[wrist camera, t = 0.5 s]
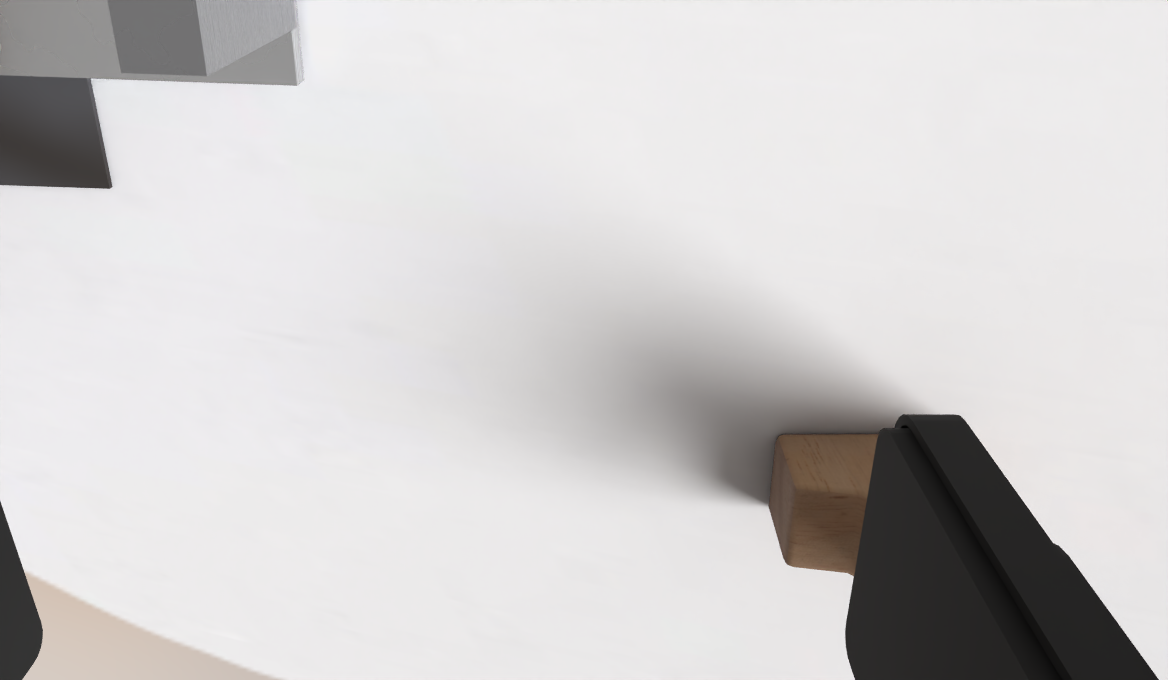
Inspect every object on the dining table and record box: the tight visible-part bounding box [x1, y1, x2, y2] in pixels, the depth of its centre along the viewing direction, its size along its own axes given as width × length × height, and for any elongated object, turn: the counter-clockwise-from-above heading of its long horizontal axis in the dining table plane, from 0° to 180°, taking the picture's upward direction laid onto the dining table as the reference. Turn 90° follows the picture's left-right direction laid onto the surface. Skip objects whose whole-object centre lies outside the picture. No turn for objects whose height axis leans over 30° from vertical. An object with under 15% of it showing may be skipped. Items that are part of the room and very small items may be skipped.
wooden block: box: [769, 434, 879, 576], centre depth 37 cm, size 9×4×18 cm, turn 90°
